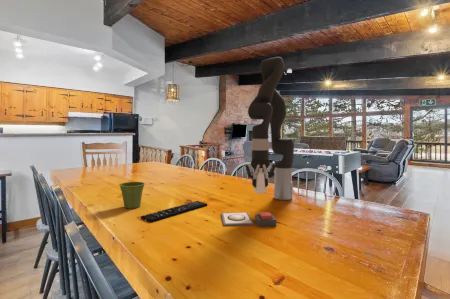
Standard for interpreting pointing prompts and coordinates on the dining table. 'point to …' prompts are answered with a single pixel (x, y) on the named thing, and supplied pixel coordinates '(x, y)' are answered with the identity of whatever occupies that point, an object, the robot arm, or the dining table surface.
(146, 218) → the remote control
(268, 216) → the button
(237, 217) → the board
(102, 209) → the dining table surface
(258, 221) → the button housing
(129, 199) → the plant pot
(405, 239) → the dining table surface
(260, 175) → the salt shaker
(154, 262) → the dining table surface
